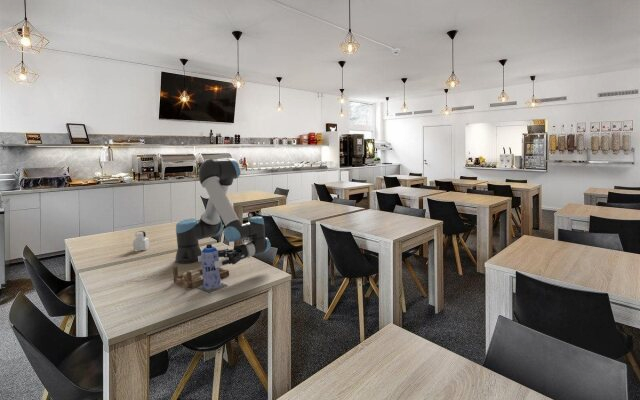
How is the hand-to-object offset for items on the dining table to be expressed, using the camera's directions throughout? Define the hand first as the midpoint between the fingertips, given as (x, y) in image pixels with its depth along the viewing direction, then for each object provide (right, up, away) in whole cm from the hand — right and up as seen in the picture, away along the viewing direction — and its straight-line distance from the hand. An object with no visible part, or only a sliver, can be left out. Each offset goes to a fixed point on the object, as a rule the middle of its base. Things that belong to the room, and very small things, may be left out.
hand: (206, 262), depth 159 cm
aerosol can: (+2, -12, +3) cm, 12 cm away
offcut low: (-10, -12, +9) cm, 18 cm away
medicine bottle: (-65, -4, +69) cm, 94 cm away
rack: (-7, -11, +14) cm, 19 cm away
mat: (+2, -12, +3) cm, 13 cm away
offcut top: (-10, -9, +9) cm, 16 cm away
